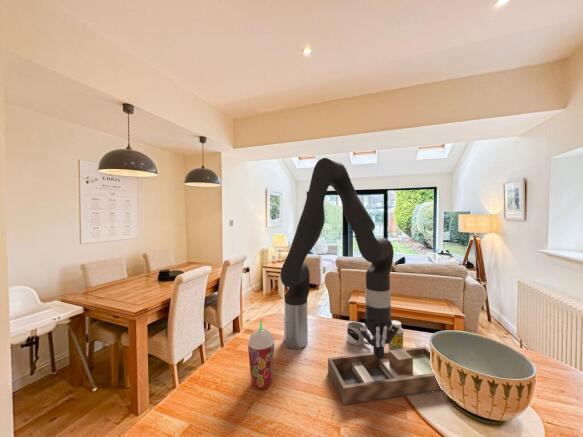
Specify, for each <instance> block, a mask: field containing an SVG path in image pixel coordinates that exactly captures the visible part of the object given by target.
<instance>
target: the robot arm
mask: <svg viewBox="0 0 583 437" xmlns="http://www.w3.org/2000/svg"><path fill="white" fill-rule="evenodd" d="M329 186H330V187H332V188H333V189H334V191H335V193H337V195H338V196H339V198H340V201H341V206H342V211H343V214H344V217H345V219H346V221H347V223H348V225H349V226H350V228H351V230H352V231H353V234H354V237H355V241H356V243H357V244H356V245H357V247H358V251H359V253H360V254H361V256H362V258H363V259H364V260H366V262H369V263H371V265H370V267H369V268H368V269H367V270H366V272H365V295H364V299H365V321H364V324H363V325H364V326H363V327H362V328H359V329H358V331H359V332H360V333H361V334H362V335H363V337H364V340H365V341H367V342H369V344H370V345H369V346H370V347H373V351H372V353H374V355H375V356H376V357H377V358H383V356H384V351H385V346H386V345H389V343H390V342H391V340H392V339H393V337H394V336H395V334H396V333H397V331H398V330H399V328H398V327H397V326H395V325H394V324H392V321H393V320H391V319H392V304H391V302H392V296H391V287H390V286H391V285H390V284H391V279H390V275H391V274H390V273H391V271H392V266H393V262H394V247H393V246H394V245H393V244H392V242H391V241H390V240H389V239H388V238H386V237H377V238H376V236H375V234H374V230H375V228H376V225H375V223H374V221H373V219H372V217H371V216H370V214H369V212H368V210H367V209H366V207H365V206H364V205H363V203H362V201H361V199H360V197H359V196H358V194H357V191H356V190H355V187H354V185H353V183H352V180H351V178H350V175H349V173H348V171H347V168H346V167H345V165H344V164H343V163H342V162H341V161H338V160H336V159H333V158H330V157H322V158H321V159H319V160H318V161H317V162H316V163H315V165H314V168H313V171H312V174H311V178H310V184H309V187H308V188H309V189H308V191H307V196H306V199H305V202H304V205H303V206H304V207H303V209H302V213H301V214H300V218H299V221H298V224H297V227H296V231H295V234H294V237H293V238H292V242H291V246H290V248H289V250H288V254H287V255H286V258H285V260H284V263H283V265H282V267H281V269H280V276H279V277H280V280H281V283H282V284H283V286H285V287H286V288H288V289H287V291H286V292H285V294H284V317H283V332H284V333H283V334H284V336H283V338H284V344H285V348H291V349H296V350H297V349H303V348H305V347H307V345H308V344H309V339H308V338H309V335H308V334H309V333H308V330H309V329H308V328H309V327H308V324H309V323H308V297H309V295H310V294H309V293H310V282H311V281H310V279H311V275H310V269H309V267H308V264H306V263H305V260H306V258H307V256H308V255H309V253H310V252H311V251H312V249H313V248H314V246H315V245H316V244H317V242H318V240H319V238H320V236H321V234H322V231H323V229H324V228H323V227H324V226H325V222H326V221H325V220H326V216H325V215H326V214H325V204H324V203H325V198H326V194H327V192H328V188H329ZM368 331H369V332H368ZM368 333H369V334H370V337H371V339H370V337H369V336H368V335H367V334H368Z"/></svg>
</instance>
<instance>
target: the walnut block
mask: <svg viewBox="0 0 583 437" xmlns="http://www.w3.org/2000/svg"><path fill="white" fill-rule="evenodd" d="M404 349H405V348H402V349H398V350H396V349H392V350H388V351H389V366H390V367H391V368H392V369H393V370H394V371H395V372H396V374H397V375H398V376H399V375H406V374H413V357H411V356H410V355H409V354H408V353H407V352H406V351H405V350H404Z"/></svg>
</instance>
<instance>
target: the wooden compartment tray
mask: <svg viewBox="0 0 583 437" xmlns="http://www.w3.org/2000/svg"><path fill="white" fill-rule="evenodd" d="M403 349H404V350H405V351H406V352H407V353H408V354H409V355H410V356H411V357H413V374H406V375H399V376H398V375H397V374H396V372H395V371H394V370H393V369H392V368H391V367H390V366H389V351H390V350H384V356H383V358H377V357H376V356H375V355H374V352H368V353H360V354H349V355H344V356H341V355H340V356H334V357H332V356H331V357H327V374H328V375H329V377H330V380H331V382H332V384H333V386H334V388H335V391H336V392H337V395H338V397H339V399H340V401H341V403H342V406H349V405H357V404H362V403H369V402H374V401H375V402H376V401H381V400H382V401H383V400H389V399H395V398H401V397H408V395H410V396H416V395H422V393H423V394H427V393H426V392H429V393H433V392H432V391H436V392H442V390H441V388H440V386H439V384H438V382H437V380H436V378H435V375H434V373H433V371H432V368H431V365H430V352H429V350H430V349H428V348H427V347H426V346H420V347H419V346H418V347H411V348H410V347H409V348H403Z"/></svg>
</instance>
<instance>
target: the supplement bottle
mask: <svg viewBox="0 0 583 437" xmlns="http://www.w3.org/2000/svg"><path fill="white" fill-rule="evenodd" d="M391 321H392V324H394V325H395V326H397V327H398V328H399V330H398V331H397V333H396V334H395V336H394V337H393V339H392V340H391V342H390V343H389V344H388V346H389V348H391V349H392V350H398V349H404V329H403V328H402V322H401V321H399V320H394V319H393V320H391Z"/></svg>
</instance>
